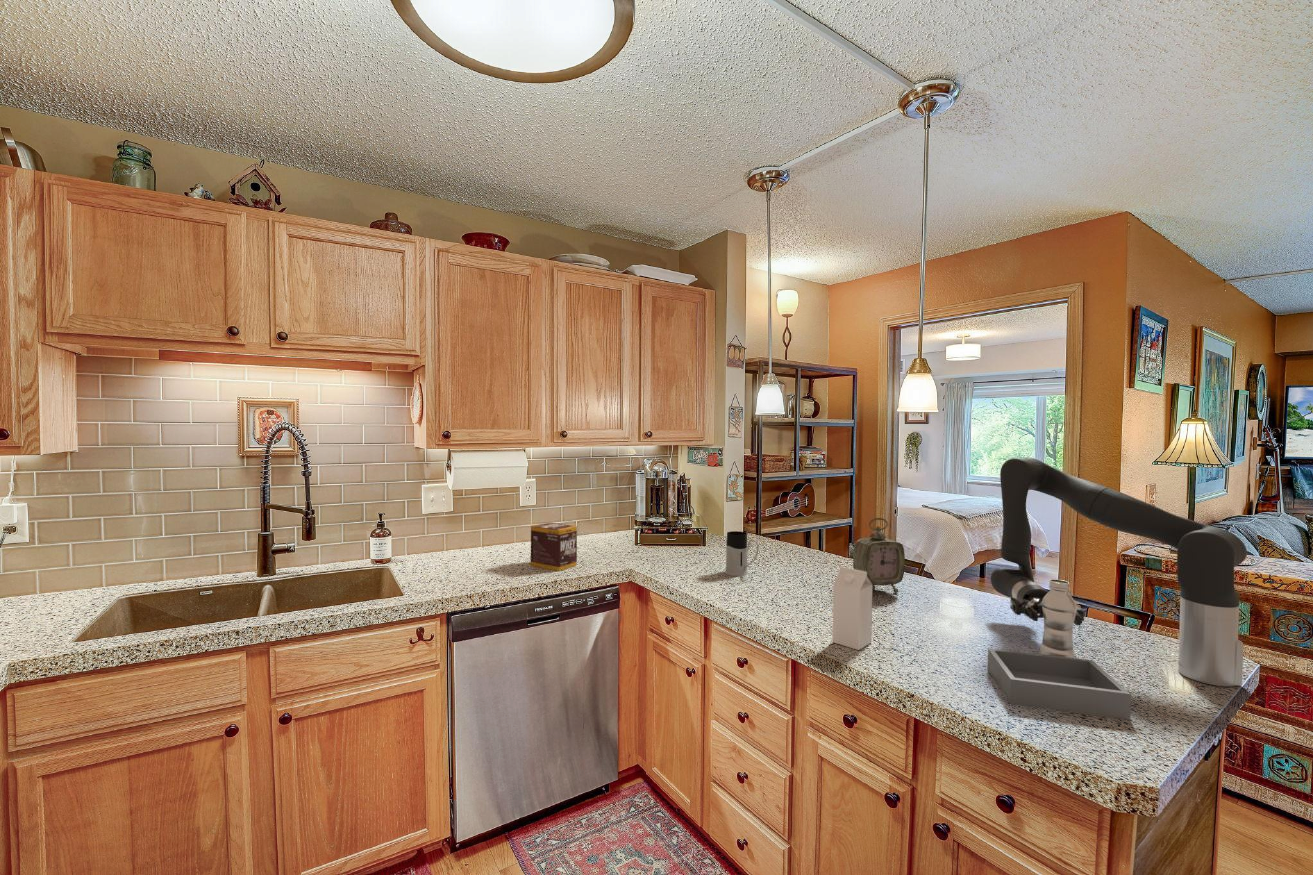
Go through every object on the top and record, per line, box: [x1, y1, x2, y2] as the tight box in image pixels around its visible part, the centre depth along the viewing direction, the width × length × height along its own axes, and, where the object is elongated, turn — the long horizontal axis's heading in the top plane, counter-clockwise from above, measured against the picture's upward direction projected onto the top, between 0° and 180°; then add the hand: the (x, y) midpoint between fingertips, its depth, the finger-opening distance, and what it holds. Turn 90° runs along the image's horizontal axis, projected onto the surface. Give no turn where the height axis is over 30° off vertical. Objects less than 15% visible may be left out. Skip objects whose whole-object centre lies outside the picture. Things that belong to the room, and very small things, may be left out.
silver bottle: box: [1039, 578, 1078, 658], centre depth 128 cm, size 6×7×20 cm
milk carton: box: [832, 566, 873, 651], centre depth 141 cm, size 7×7×19 cm
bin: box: [987, 648, 1132, 721], centre depth 116 cm, size 20×16×5 cm
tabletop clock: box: [852, 517, 906, 594], centre depth 185 cm, size 14×9×25 cm, turn 102°
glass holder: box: [724, 530, 760, 577], centre depth 205 cm, size 9×14×15 cm, turn 43°
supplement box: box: [529, 522, 578, 572], centre depth 216 cm, size 10×15×16 cm
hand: (1057, 619), depth 128 cm, fingers open, 8 cm apart
